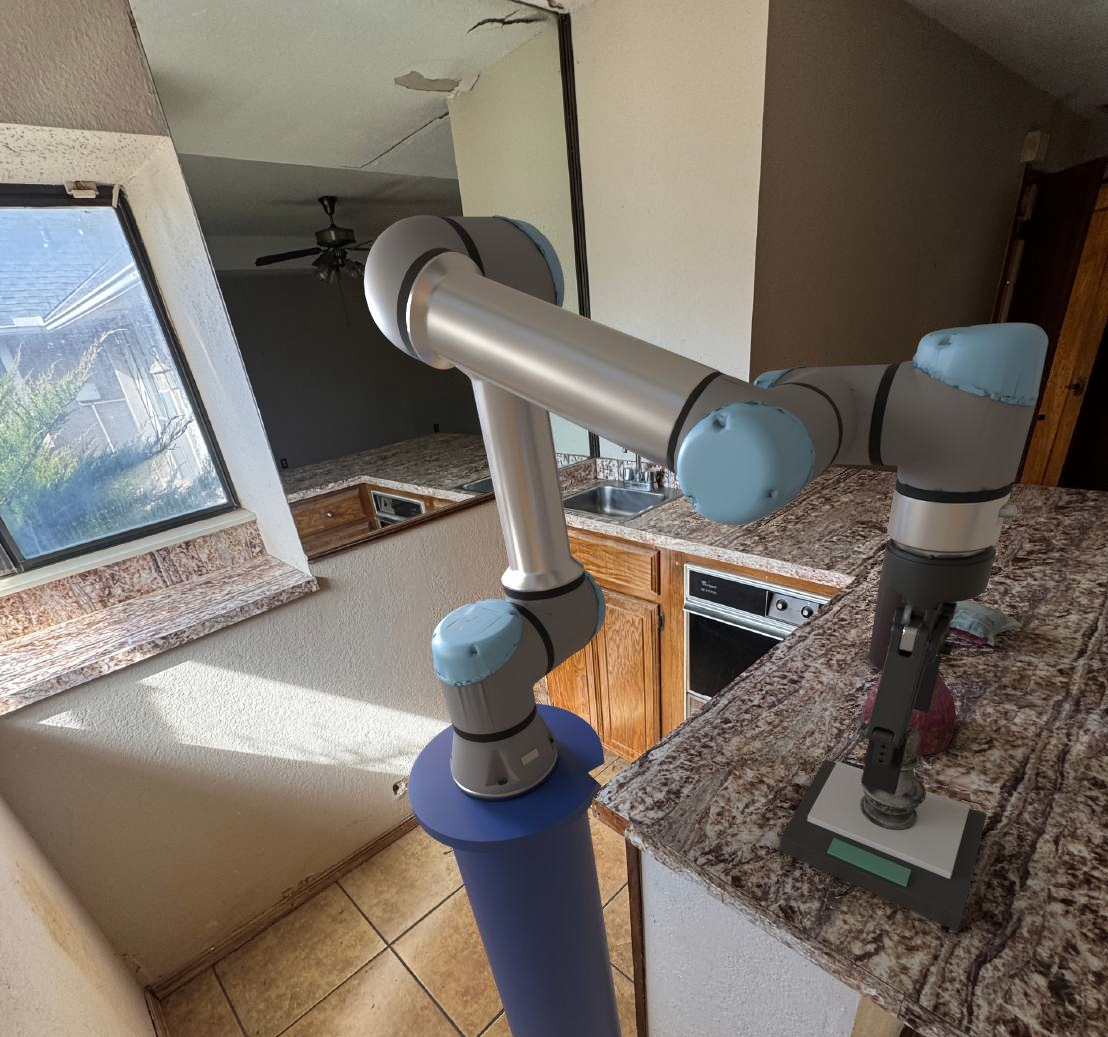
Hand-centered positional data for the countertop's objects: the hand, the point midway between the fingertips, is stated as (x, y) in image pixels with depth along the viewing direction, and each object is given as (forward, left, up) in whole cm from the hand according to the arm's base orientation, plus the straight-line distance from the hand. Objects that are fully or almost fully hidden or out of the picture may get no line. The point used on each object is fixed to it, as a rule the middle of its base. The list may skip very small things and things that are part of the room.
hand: (897, 744), depth 56 cm
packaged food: (0, +49, -12) cm, 50 cm away
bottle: (-7, +35, -12) cm, 37 cm away
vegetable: (-2, +19, -12) cm, 22 cm away
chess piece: (0, 0, -9) cm, 9 cm away
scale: (0, -1, -12) cm, 12 cm away
